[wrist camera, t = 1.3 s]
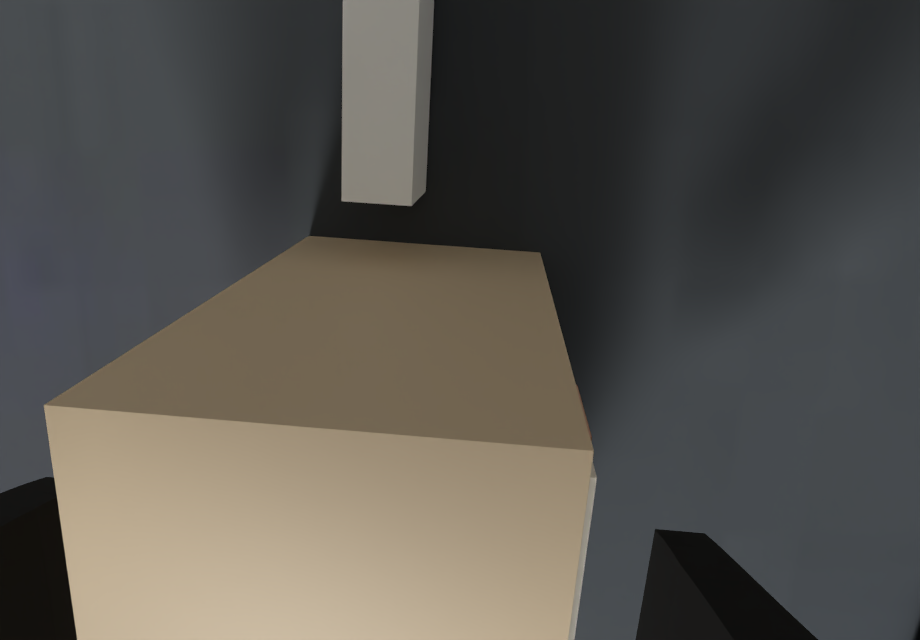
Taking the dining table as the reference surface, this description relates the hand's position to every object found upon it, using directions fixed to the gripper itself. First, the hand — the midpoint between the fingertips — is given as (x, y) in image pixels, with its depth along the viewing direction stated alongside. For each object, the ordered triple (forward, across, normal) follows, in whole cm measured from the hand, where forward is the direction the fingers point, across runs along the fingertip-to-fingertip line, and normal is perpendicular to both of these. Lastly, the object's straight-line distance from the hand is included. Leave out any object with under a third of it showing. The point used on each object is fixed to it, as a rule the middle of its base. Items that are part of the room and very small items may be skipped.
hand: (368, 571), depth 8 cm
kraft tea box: (+4, 0, 0) cm, 4 cm away
